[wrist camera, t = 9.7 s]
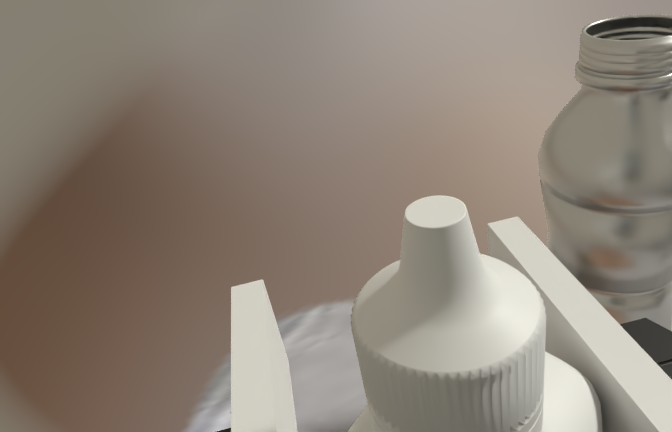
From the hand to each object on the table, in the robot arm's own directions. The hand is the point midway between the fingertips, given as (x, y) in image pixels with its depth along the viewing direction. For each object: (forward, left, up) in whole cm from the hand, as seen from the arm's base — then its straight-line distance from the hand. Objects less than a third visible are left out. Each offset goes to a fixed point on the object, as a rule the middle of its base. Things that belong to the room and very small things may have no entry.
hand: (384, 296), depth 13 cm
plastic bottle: (-3, -14, -18) cm, 23 cm away
